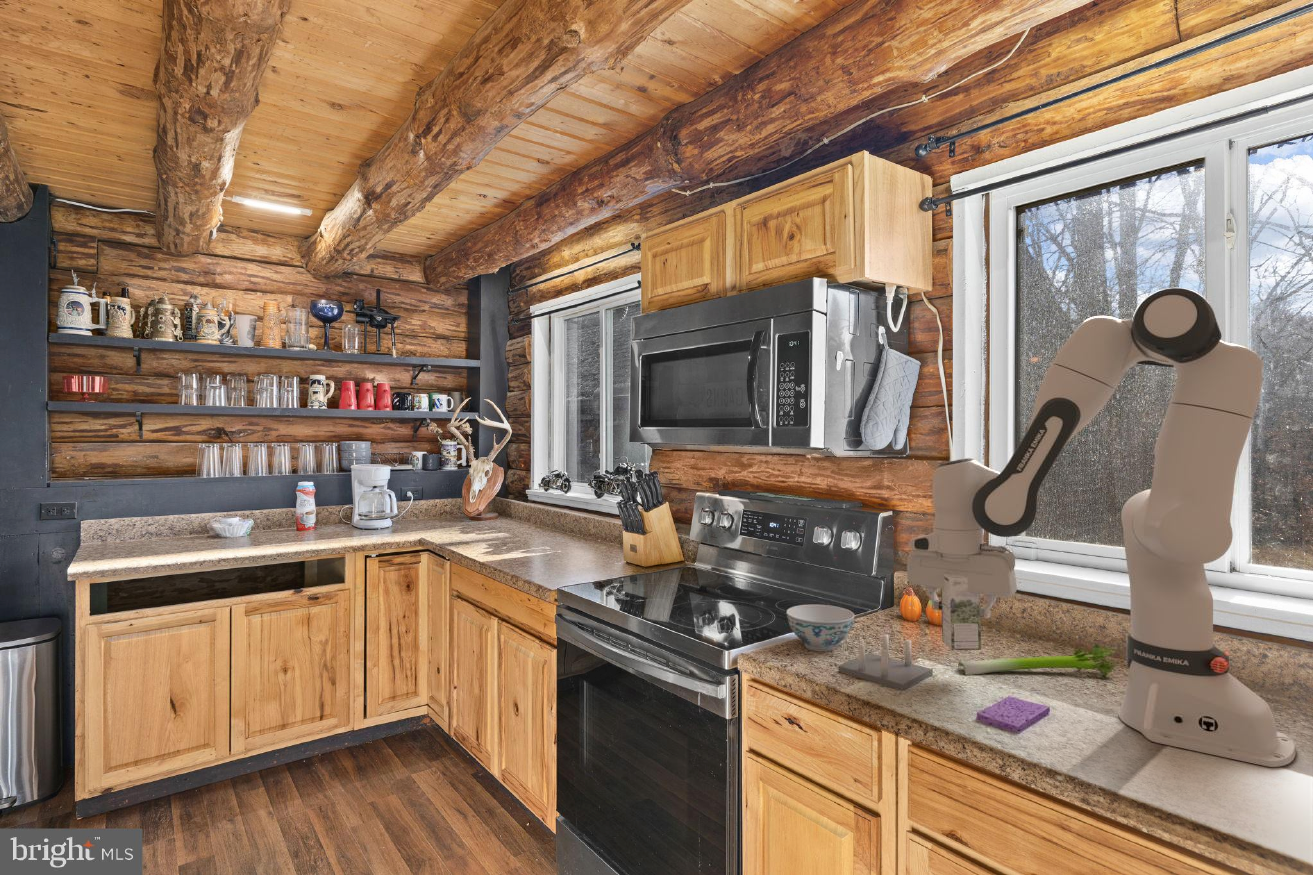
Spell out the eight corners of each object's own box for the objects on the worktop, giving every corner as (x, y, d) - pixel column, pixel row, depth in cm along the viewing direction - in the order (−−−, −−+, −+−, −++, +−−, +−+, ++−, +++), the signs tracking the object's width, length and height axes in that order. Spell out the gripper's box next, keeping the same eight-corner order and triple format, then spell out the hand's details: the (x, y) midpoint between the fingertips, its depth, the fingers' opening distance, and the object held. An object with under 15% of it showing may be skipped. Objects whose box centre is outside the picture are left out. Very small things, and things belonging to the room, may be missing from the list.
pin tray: (932, 675, 140) (932, 644, 140) (902, 690, 132) (902, 658, 132) (869, 658, 151) (869, 629, 150) (838, 671, 143) (838, 641, 142)
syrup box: (971, 641, 138) (968, 568, 139) (982, 651, 133) (979, 574, 133) (942, 642, 139) (939, 569, 139) (951, 651, 133) (948, 575, 133)
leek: (955, 676, 145) (1104, 666, 144) (969, 693, 139) (1125, 683, 137) (955, 648, 145) (1104, 638, 143) (968, 664, 138) (1125, 653, 136)
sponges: (975, 723, 119) (975, 712, 119) (1009, 703, 127) (1009, 693, 127) (1018, 737, 113) (1018, 725, 113) (1050, 716, 121) (1050, 705, 121)
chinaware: (862, 657, 151) (862, 621, 151) (793, 657, 151) (793, 622, 151) (844, 636, 166) (844, 604, 166) (781, 636, 166) (781, 604, 166)
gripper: (1021, 545, 130) (1023, 618, 130) (917, 536, 145) (919, 602, 145) (1007, 549, 126) (1010, 626, 126) (901, 539, 141) (904, 608, 141)
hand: (960, 613), depth 136 cm, fingers closed on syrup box, 8 cm apart
